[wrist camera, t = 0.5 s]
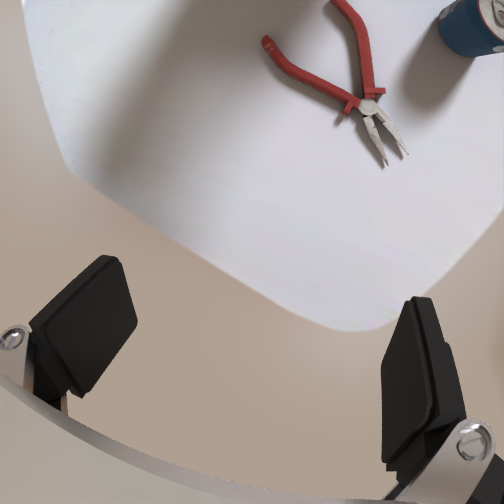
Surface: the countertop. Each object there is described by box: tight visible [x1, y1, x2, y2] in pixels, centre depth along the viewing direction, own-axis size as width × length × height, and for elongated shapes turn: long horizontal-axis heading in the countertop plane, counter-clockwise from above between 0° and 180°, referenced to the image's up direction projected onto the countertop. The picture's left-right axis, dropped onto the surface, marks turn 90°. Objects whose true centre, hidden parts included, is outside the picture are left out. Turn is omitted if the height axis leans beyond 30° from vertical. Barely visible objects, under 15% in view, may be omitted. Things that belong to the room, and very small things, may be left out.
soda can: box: [438, 0, 504, 57], centre depth 17 cm, size 7×7×12 cm
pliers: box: [262, 0, 409, 166], centre depth 30 cm, size 12×21×3 cm, turn 36°
